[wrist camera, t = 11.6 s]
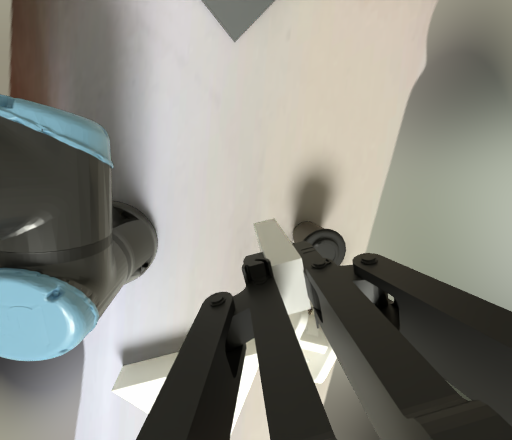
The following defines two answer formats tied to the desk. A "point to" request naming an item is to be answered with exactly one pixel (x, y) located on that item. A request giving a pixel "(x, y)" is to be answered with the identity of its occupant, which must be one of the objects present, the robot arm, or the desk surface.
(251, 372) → the triangle block
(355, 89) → the desk surface
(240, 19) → the mat
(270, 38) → the desk surface
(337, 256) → the coffee cup
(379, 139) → the desk surface
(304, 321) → the cable organizer
